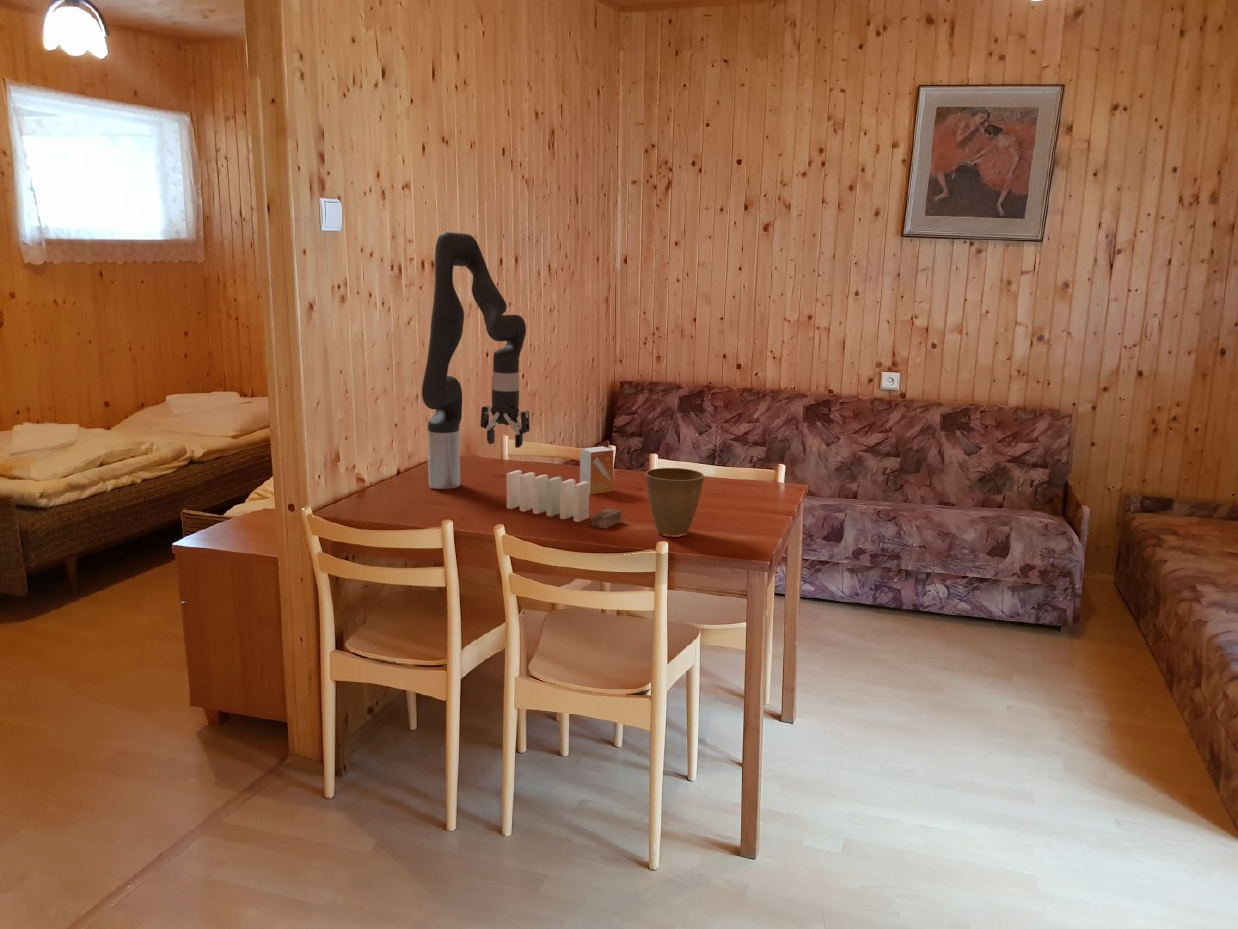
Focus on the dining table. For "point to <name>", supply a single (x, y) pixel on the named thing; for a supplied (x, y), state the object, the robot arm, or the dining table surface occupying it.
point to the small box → (597, 469)
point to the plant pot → (673, 498)
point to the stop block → (606, 518)
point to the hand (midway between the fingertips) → (504, 445)
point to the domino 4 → (553, 496)
